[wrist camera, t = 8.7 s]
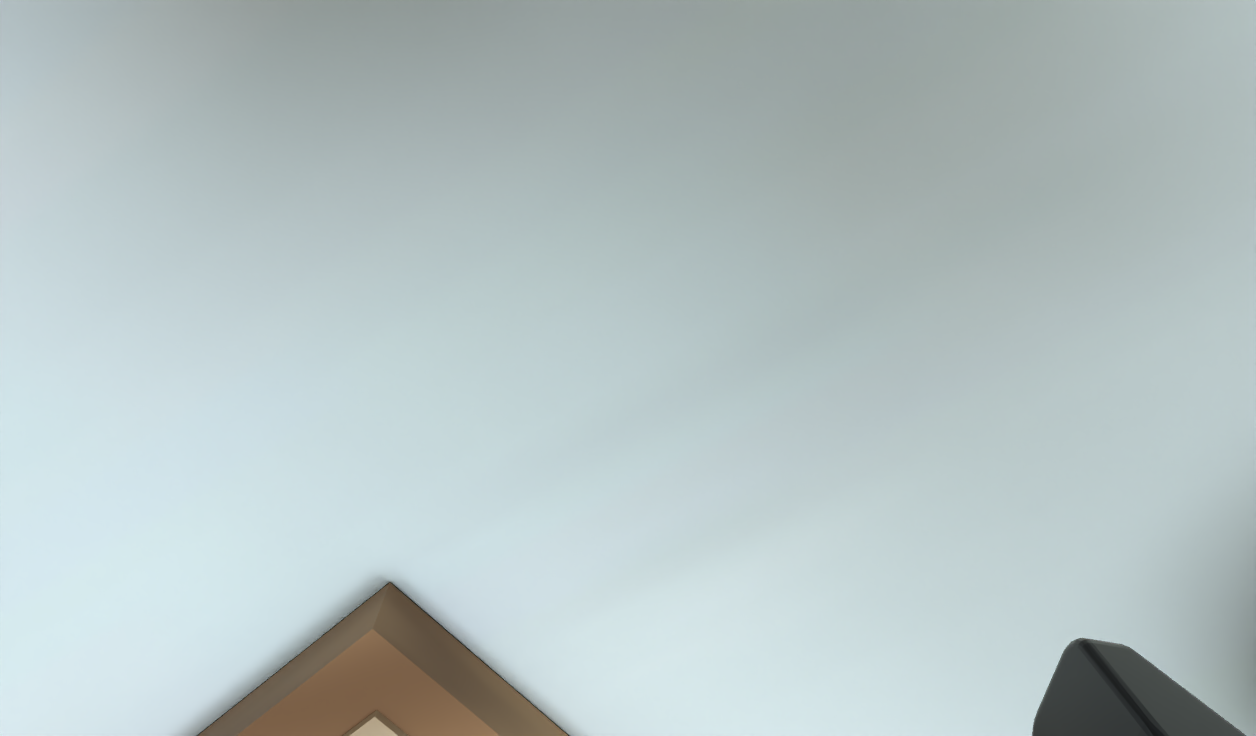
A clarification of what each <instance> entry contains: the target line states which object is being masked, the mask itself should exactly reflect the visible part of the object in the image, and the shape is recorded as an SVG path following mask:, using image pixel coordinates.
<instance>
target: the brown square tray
mask: <svg viewBox="0 0 1256 736" xmlns="http://www.w3.org/2000/svg"><path fill="white" fill-rule="evenodd" d="M198 736H568V735H567V734H566V733H565V732H563V731H562V730H561V729H560V728H559V727H558V726H556V725H555V724H554V723H553V722H552V721H551V720H549V719H548V718H547V717H546V716H545V715H544V714H542V713H541V712H540V711H539V710H538V709H537V708H535V707H534V706H533V705H532V704H531V703H530V702H528V701H527V700H526V699H525V698H524V697H523V696H521V695H520V694H519V693H518V692H517V691H516V690H515V689H513V688H512V687H511V686H510V685H509V684H508V683H506V682H505V681H504V680H503V679H502V678H501V677H499V676H498V675H497V674H496V673H495V672H494V671H492V670H491V669H490V668H489V667H488V666H487V665H485V664H484V663H483V662H482V661H481V660H480V659H478V658H477V657H476V656H475V655H474V654H473V653H471V652H470V651H469V650H468V649H467V648H466V647H465V646H463V645H462V644H461V643H460V642H459V641H458V640H456V639H455V638H454V637H453V636H452V635H451V634H449V633H448V632H447V631H446V630H445V629H444V628H442V627H441V626H440V625H439V624H438V623H437V622H435V621H434V620H433V619H432V618H431V617H430V616H428V615H427V614H426V613H425V612H424V611H423V610H421V609H420V608H419V607H418V606H417V605H416V604H415V603H413V602H412V601H411V600H410V599H409V598H408V597H406V596H405V595H404V594H403V593H402V592H401V591H399V590H398V589H397V588H396V587H395V586H394V585H392V584H391V583H388V584H387V585H386V586H385V587H383V588H382V589H381V590H380V591H378V592H377V593H376V594H375V595H373V596H372V597H371V598H370V599H368V600H367V601H366V602H365V603H363V604H362V605H361V606H360V607H358V608H357V609H356V610H355V611H353V612H352V613H351V614H350V615H348V616H347V617H346V618H345V619H343V620H342V621H341V622H340V623H338V624H337V625H336V626H334V627H333V628H332V629H331V630H329V631H328V632H327V633H326V634H324V635H323V636H322V637H321V638H319V639H318V640H317V641H316V642H314V643H313V644H312V645H311V646H309V647H308V648H307V649H306V650H304V651H303V652H302V653H301V654H299V655H298V656H297V657H296V658H294V659H293V660H292V661H291V662H289V663H288V664H287V665H286V666H284V667H283V668H282V669H281V670H279V671H278V672H277V673H275V674H274V675H273V676H272V677H270V678H269V679H268V680H267V681H265V682H264V683H263V684H262V685H260V686H259V687H258V688H257V689H255V690H254V691H253V692H252V693H250V694H249V695H248V696H247V697H245V698H244V699H243V700H242V701H240V702H239V703H238V704H237V705H235V706H234V707H233V708H232V709H230V710H229V711H228V712H227V713H225V714H224V715H223V716H222V717H220V718H219V719H218V720H217V721H215V722H214V723H213V724H211V725H210V726H209V727H208V728H206V729H205V730H204V731H203V732H201V733H200V734H199V735H198Z"/></svg>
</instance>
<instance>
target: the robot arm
mask: <svg viewBox="0 0 1256 736" xmlns="http://www.w3.org/2000/svg"><path fill="white" fill-rule="evenodd" d="M1032 736H1246V735H1245V734H1243V733H1242V732H1241V731H1239V730H1238V729H1237V728H1235V727H1234V726H1233V725H1232V724H1230V723H1229V722H1228V721H1226V720H1225V719H1224V718H1222V717H1221V716H1220V715H1218V714H1217V713H1216V712H1214V711H1213V710H1212V709H1210V708H1209V707H1208V706H1207V705H1205V704H1204V703H1203V702H1201V701H1200V700H1199V699H1197V698H1196V697H1195V696H1193V695H1192V694H1191V693H1189V692H1188V691H1187V690H1185V689H1184V688H1183V687H1182V686H1180V685H1179V684H1178V683H1176V682H1175V681H1174V680H1172V679H1171V678H1170V677H1168V676H1167V675H1166V674H1164V673H1163V672H1162V671H1160V670H1159V669H1158V668H1156V667H1155V666H1154V665H1153V664H1151V663H1150V662H1149V661H1147V660H1146V659H1145V658H1143V657H1142V656H1141V655H1139V654H1138V653H1137V652H1135V651H1134V650H1133V649H1131V648H1130V647H1127V646H1125V645H1122V644H1117V643H1111V642H1105V641H1099V640H1093V639H1086V638H1079V639H1076V640H1074V641H1072V642H1071V643H1070V644H1069V645H1068V646H1067V647H1066V649H1065V650H1064V652H1063V654H1062V656H1061V658H1060V661H1059V663H1058V665H1057V668H1056V670H1055V672H1054V674H1053V677H1052V679H1051V681H1050V684H1049V686H1048V688H1047V690H1046V693H1045V695H1044V697H1043V700H1042V702H1041V704H1040V707H1039V709H1038V711H1037V714H1036V717H1035V720H1034V725H1033V732H1032Z"/></svg>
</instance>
